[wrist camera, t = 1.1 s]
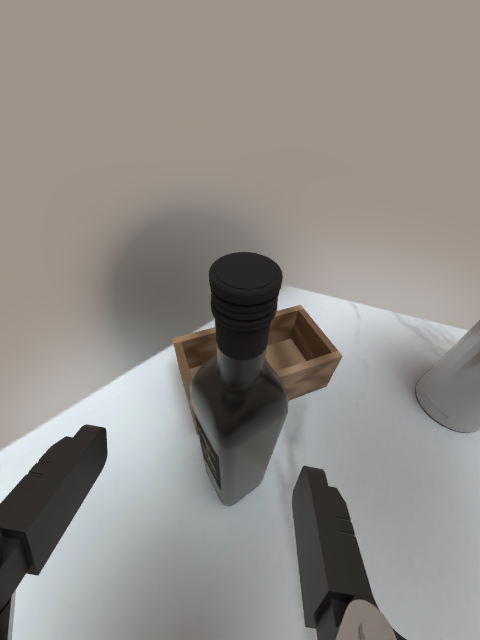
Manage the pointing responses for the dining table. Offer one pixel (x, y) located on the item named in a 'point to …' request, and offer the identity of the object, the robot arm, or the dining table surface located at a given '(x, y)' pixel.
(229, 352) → the wine bottle
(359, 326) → the dining table surface
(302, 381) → the bottle rack
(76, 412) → the dining table surface
